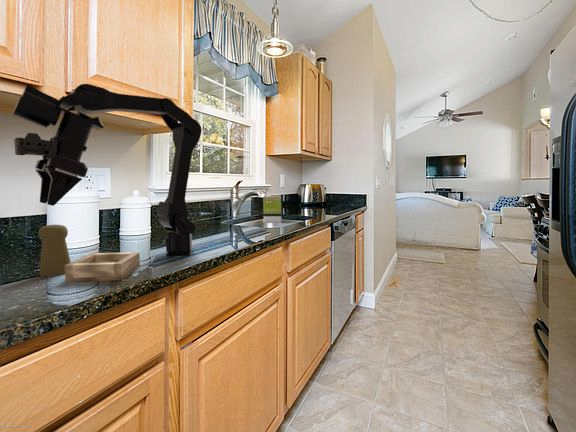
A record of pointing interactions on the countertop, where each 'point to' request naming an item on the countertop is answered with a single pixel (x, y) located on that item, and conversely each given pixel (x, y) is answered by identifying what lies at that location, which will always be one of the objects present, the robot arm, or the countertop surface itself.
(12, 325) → the countertop surface
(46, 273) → the brown toast slice
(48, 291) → the countertop surface
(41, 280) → the countertop surface
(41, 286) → the countertop surface
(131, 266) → the wooden tray
